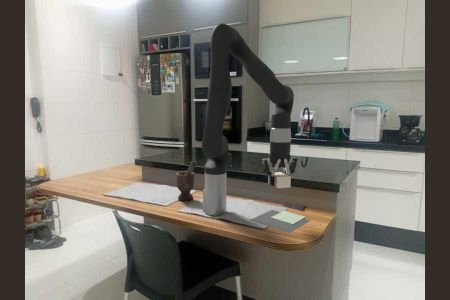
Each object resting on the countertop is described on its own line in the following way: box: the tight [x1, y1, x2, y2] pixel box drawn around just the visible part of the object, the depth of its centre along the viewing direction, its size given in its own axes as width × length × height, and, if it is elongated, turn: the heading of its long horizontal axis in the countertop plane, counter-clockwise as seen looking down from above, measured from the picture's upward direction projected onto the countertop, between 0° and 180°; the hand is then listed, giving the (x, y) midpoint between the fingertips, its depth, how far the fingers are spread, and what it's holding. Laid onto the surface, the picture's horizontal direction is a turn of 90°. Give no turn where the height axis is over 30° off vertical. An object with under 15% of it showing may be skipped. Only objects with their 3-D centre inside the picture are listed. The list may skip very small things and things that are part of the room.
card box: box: [267, 171, 292, 189], centre depth 113 cm, size 8×5×4 cm, turn 18°
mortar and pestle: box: [175, 160, 197, 202], centre depth 143 cm, size 12×9×20 cm
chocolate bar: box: [282, 201, 306, 212], centre depth 130 cm, size 9×1×18 cm
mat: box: [249, 209, 311, 234], centre depth 118 cm, size 18×18×1 cm
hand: (279, 184), depth 113 cm, fingers closed on card box, 5 cm apart
